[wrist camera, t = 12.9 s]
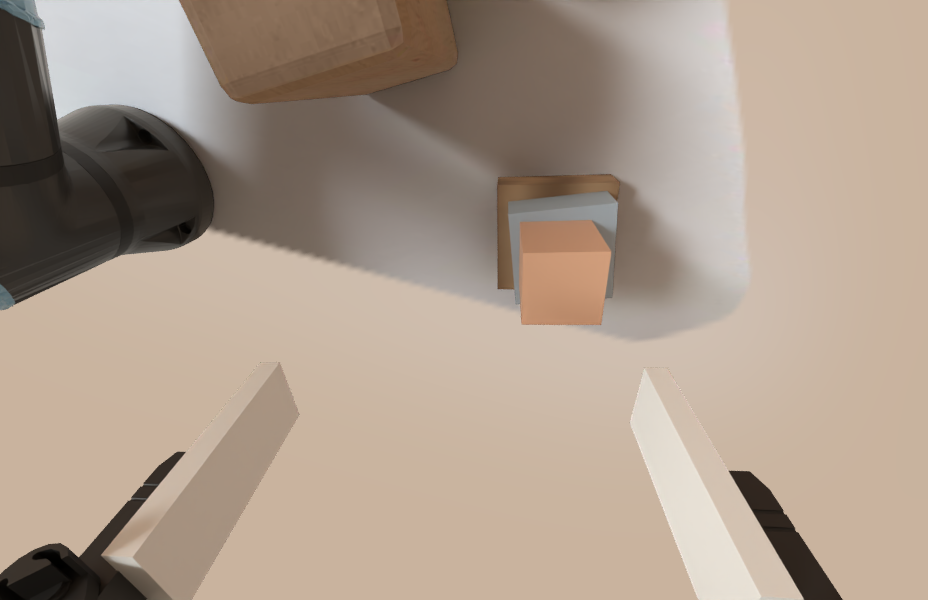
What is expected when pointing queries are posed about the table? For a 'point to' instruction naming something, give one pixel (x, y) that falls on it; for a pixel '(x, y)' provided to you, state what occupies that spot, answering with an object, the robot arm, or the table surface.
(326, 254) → the table surface
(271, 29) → the block
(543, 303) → the stack block
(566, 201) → the block
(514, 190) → the tower base
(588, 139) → the table surface
